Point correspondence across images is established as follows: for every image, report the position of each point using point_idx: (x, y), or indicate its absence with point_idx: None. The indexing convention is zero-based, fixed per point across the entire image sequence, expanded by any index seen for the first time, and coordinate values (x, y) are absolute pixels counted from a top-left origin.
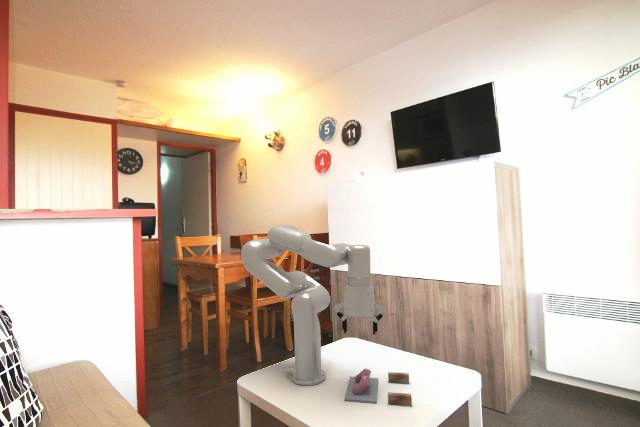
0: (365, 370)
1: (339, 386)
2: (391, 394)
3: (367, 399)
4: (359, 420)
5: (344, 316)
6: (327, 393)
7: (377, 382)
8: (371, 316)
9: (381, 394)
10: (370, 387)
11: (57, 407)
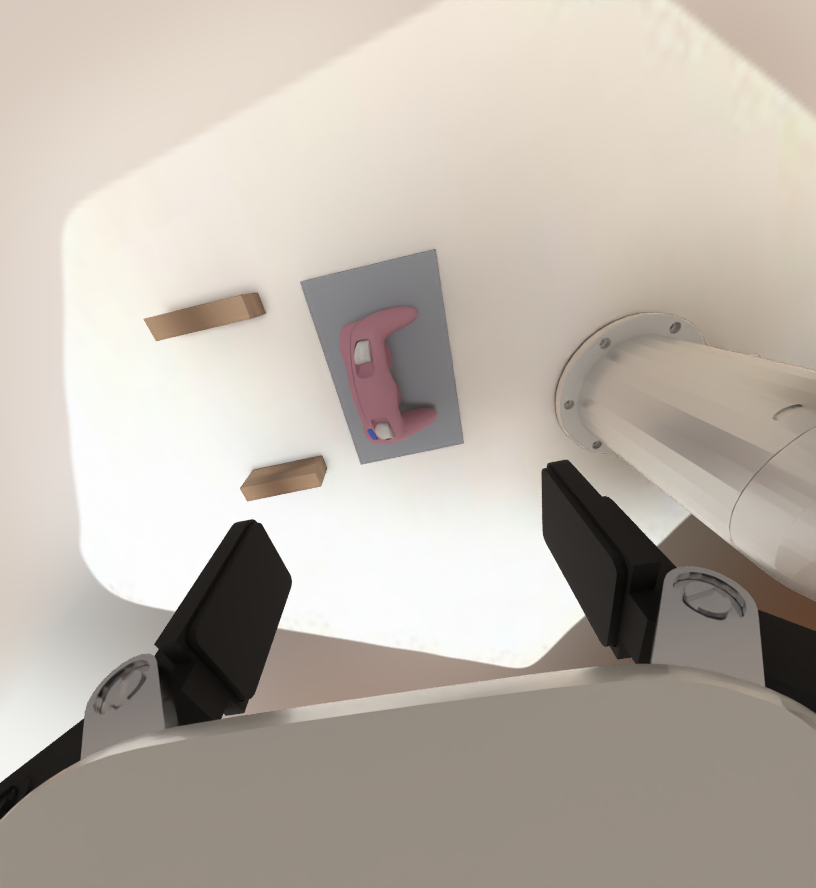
0: (377, 404)
1: (486, 365)
2: (227, 303)
3: (341, 286)
4: (314, 85)
5: (723, 658)
6: (521, 288)
7: (353, 434)
8: (61, 773)
9: (313, 364)
10: None
11: None
